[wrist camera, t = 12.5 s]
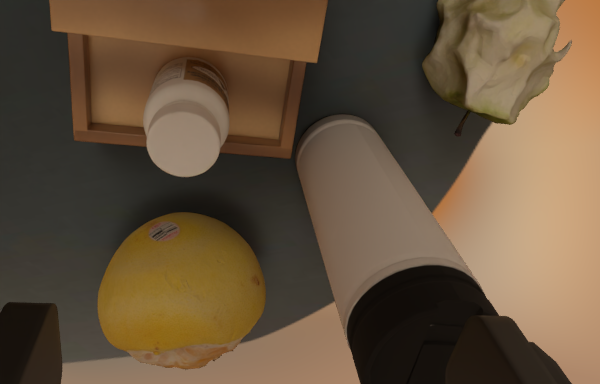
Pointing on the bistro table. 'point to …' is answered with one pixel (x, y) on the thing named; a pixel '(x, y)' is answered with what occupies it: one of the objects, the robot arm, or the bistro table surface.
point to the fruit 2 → (493, 55)
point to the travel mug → (384, 256)
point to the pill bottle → (186, 117)
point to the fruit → (181, 291)
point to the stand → (190, 43)
